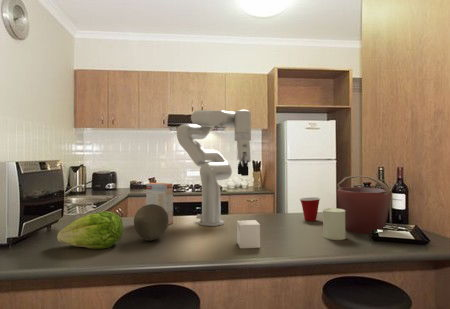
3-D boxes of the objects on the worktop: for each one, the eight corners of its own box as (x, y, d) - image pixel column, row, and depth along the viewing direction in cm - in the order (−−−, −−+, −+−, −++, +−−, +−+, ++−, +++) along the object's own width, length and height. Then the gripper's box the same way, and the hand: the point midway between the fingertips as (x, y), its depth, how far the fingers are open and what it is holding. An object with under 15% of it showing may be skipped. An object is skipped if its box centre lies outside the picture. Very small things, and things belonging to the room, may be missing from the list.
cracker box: (173, 223, 158) (173, 183, 158) (165, 225, 153) (165, 184, 153) (154, 220, 166) (153, 182, 166) (145, 222, 161) (145, 183, 161)
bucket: (326, 225, 150) (326, 175, 150) (361, 222, 158) (361, 173, 158) (366, 238, 127) (365, 178, 127) (404, 233, 135) (403, 176, 135)
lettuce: (69, 224, 129) (50, 213, 116) (127, 215, 130) (114, 203, 117) (65, 259, 122) (45, 251, 109) (127, 249, 123) (113, 240, 110)
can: (329, 233, 137) (328, 206, 137) (349, 236, 130) (349, 208, 130) (318, 237, 130) (318, 208, 130) (339, 241, 124) (339, 211, 124)
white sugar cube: (240, 248, 115) (239, 225, 115) (237, 242, 123) (236, 220, 123) (260, 247, 116) (259, 224, 116) (255, 241, 124) (255, 220, 124)
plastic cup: (304, 217, 171) (303, 195, 171) (323, 219, 165) (323, 197, 165) (296, 220, 162) (296, 198, 162) (316, 223, 156) (316, 199, 156)
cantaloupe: (132, 238, 130) (131, 203, 130) (165, 234, 136) (164, 201, 136) (136, 247, 117) (135, 208, 117) (172, 243, 123) (172, 205, 123)
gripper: (254, 136, 131) (254, 176, 131) (247, 138, 148) (247, 173, 148) (237, 136, 130) (237, 176, 130) (232, 138, 148) (232, 173, 148)
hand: (242, 174), depth 139 cm, fingers open, 9 cm apart
